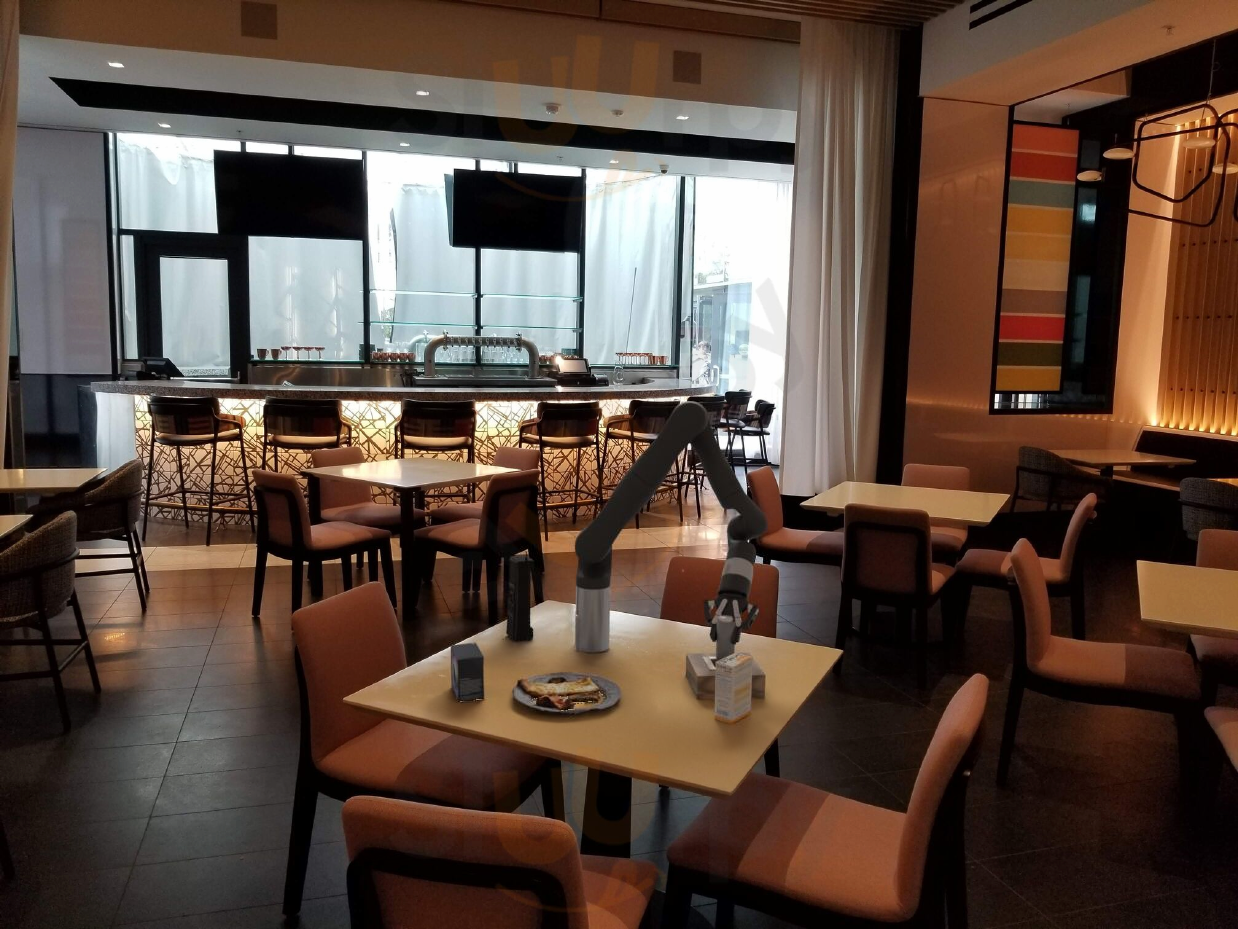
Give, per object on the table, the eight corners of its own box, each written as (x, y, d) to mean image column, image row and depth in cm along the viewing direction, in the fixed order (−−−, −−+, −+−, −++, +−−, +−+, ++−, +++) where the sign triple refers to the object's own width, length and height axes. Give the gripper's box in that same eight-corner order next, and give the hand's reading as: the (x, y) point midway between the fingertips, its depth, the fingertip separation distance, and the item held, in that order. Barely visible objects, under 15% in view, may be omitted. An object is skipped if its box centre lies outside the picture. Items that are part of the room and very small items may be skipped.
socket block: (696, 699, 208) (697, 674, 207) (685, 674, 224) (686, 652, 223) (764, 697, 209) (765, 673, 209) (748, 674, 225) (749, 651, 224)
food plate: (520, 722, 193) (521, 706, 192) (504, 685, 215) (505, 671, 215) (632, 715, 199) (633, 699, 199) (605, 680, 222) (606, 666, 221)
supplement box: (733, 708, 203) (734, 651, 201) (751, 713, 200) (753, 656, 198) (712, 719, 197) (714, 661, 195) (731, 725, 193) (733, 666, 192)
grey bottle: (717, 661, 213) (718, 620, 212) (714, 655, 218) (715, 614, 216) (736, 660, 214) (737, 619, 212) (732, 654, 218) (733, 614, 217)
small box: (449, 687, 213) (449, 644, 212) (476, 684, 215) (476, 641, 214) (456, 703, 203) (456, 658, 202) (485, 700, 205) (485, 655, 204)
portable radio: (504, 634, 254) (504, 547, 251) (524, 632, 256) (524, 546, 253) (513, 642, 247) (513, 553, 244) (533, 640, 249) (534, 551, 246)
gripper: (705, 569, 223) (691, 630, 213) (763, 574, 218) (751, 637, 208) (710, 585, 228) (697, 645, 218) (766, 591, 223) (755, 653, 214)
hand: (723, 641), depth 213 cm, fingers closed on grey bottle, 4 cm apart
